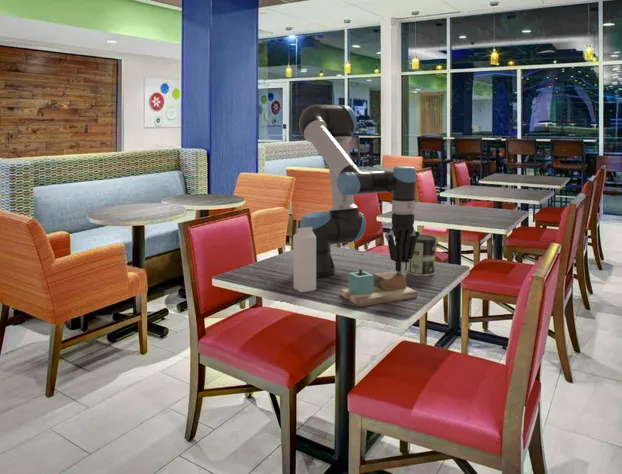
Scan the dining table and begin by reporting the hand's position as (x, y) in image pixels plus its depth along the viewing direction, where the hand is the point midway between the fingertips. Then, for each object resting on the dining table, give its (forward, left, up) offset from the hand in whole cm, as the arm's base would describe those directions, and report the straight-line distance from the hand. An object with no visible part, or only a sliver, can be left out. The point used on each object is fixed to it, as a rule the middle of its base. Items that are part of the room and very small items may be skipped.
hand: (400, 279), depth 189 cm
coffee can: (-16, +21, -4) cm, 26 cm away
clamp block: (0, -5, -2) cm, 5 cm away
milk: (-16, -29, -4) cm, 33 cm away
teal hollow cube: (+1, -16, -2) cm, 16 cm away
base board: (+2, -10, -4) cm, 11 cm away
